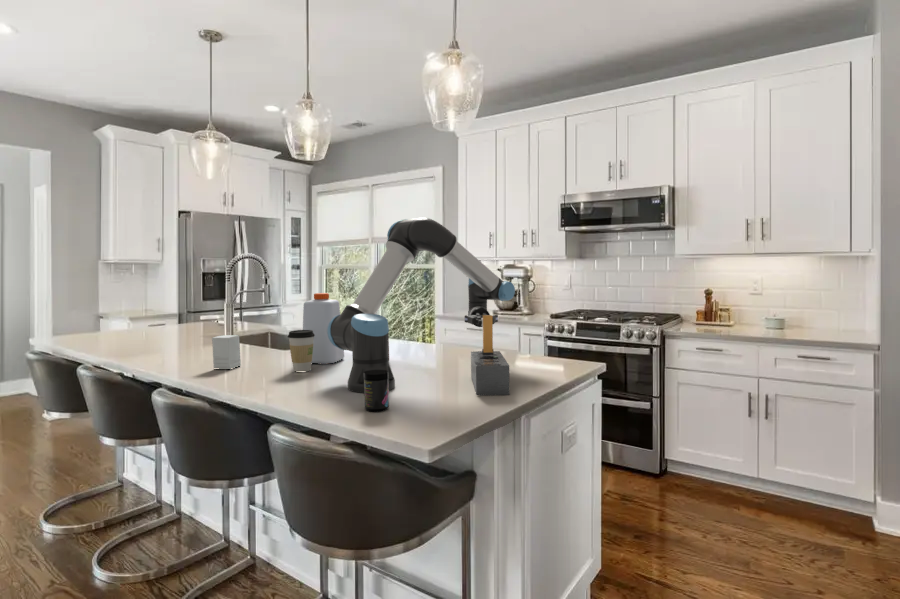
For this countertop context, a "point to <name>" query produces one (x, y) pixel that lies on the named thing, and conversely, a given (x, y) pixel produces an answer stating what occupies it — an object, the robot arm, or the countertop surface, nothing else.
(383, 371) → the supplement container
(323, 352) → the plastic bottle
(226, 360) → the supplement box
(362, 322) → the robot arm
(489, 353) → the lever
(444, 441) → the countertop surface
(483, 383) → the dark gray slotted block
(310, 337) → the coffee cup
